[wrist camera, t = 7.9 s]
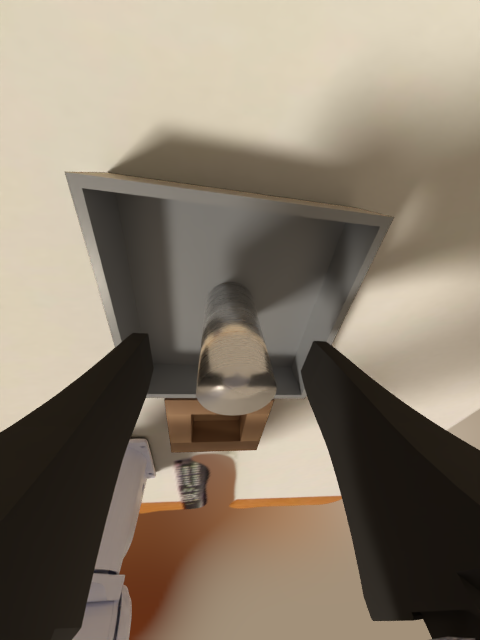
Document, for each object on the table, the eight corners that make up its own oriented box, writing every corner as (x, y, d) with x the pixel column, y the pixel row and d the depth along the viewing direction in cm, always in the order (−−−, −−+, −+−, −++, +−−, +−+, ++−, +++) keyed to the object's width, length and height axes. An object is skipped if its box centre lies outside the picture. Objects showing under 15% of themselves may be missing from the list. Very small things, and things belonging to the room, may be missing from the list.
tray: (293, 367, 18) (305, 398, 15) (143, 363, 16) (129, 397, 13) (354, 207, 11) (394, 217, 8) (105, 172, 9) (64, 171, 7)
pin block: (253, 424, 22) (256, 450, 20) (176, 425, 21) (171, 452, 19) (267, 374, 18) (273, 400, 16) (171, 372, 17) (164, 400, 15)
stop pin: (250, 324, 14) (268, 415, 9) (205, 322, 14) (195, 416, 8) (257, 283, 12) (285, 365, 7) (206, 280, 12) (196, 363, 7)
